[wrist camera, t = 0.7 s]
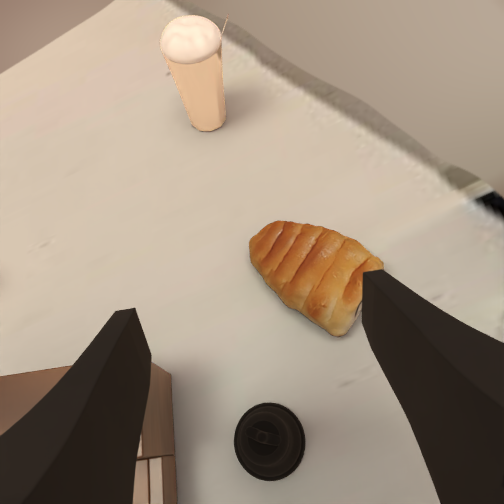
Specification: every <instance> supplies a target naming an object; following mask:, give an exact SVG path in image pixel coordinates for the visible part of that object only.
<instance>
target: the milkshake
mask: <svg viewBox="0 0 504 504" xmlns="http://www.w3.org/2000/svg"><path fill="white" fill-rule="evenodd" d="M228 15H229V14H228ZM227 19H228V16H227ZM227 19H226V22H227ZM226 22H225V25H226ZM225 25H224V28H225ZM224 28H223V31H224ZM223 31H222V34H223ZM222 34H221V33H220V30H219V28H218V27H217V26H216V25H215V24H214V23H213V22H211V21H210V20H208V19H206V18H204V17H201V16H196V15H190V16H180V17H177V18H176V19H174V20H172V21H171V22H169V23H168V24H167V25H166V27H165V28H164V30H163V33H162V35H161V38H160V49H161V51H162V54H163V56H164V58H165V61H166V63H167V65H168V67H169V70H170V72H171V74H172V77H173V79H174V81H175V84H176V86H177V89H178V91H179V94H180V96H181V99H182V101H183V104H184V106H185V109H186V111H187V114H188V117H189V119H190V122H191V124H192V125H193V126H194V127H195V128H197V129H198V130H199V131H210V132H211V131H213V130H215V129H217V128H219V127H221V126H222V124H223V123H224V121H225V119H226V111H225V99H224V86H223V71H222V46H221V38H222Z"/></svg>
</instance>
